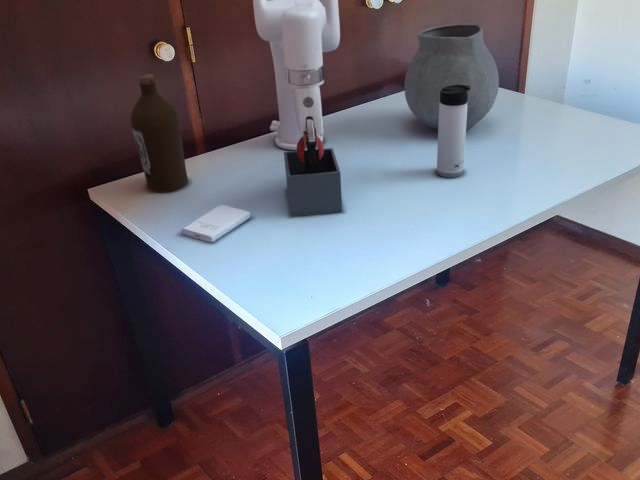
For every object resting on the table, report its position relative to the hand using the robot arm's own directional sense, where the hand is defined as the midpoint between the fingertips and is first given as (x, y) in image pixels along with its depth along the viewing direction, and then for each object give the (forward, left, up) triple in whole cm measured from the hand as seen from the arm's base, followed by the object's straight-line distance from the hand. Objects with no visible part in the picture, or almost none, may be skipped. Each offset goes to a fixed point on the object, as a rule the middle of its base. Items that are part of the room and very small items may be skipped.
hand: (310, 160), depth 152 cm
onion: (0, 0, -1) cm, 1 cm away
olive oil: (-36, -9, -9) cm, 38 cm away
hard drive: (-11, -20, -9) cm, 25 cm away
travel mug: (+20, +28, -9) cm, 36 cm away
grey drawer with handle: (-2, +2, -9) cm, 9 cm away
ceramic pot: (+6, +56, -9) cm, 57 cm away
